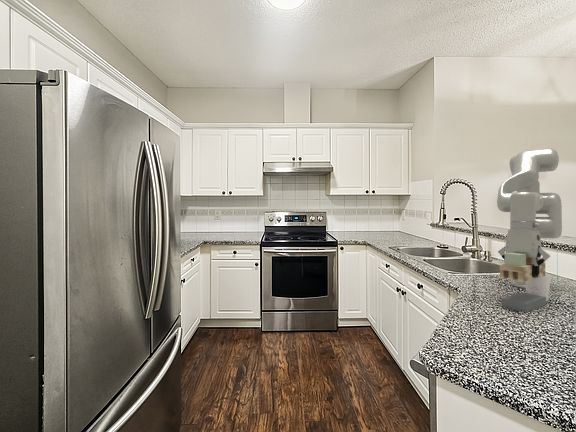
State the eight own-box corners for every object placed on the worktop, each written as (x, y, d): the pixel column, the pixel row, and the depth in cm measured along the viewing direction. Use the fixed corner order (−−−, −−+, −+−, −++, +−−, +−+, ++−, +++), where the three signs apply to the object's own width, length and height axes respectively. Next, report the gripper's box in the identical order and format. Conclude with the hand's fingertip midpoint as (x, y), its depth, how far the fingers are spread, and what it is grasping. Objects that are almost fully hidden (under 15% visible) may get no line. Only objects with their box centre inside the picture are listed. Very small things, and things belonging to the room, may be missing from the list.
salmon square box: (524, 260, 123) (524, 250, 123) (540, 262, 119) (540, 251, 119) (519, 261, 121) (519, 251, 121) (535, 263, 117) (535, 252, 117)
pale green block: (510, 263, 118) (510, 252, 118) (525, 265, 113) (525, 254, 113) (504, 264, 116) (504, 253, 115) (520, 266, 111) (520, 254, 111)
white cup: (546, 297, 128) (547, 272, 128) (553, 303, 121) (553, 276, 121) (522, 295, 131) (522, 271, 131) (527, 300, 124) (527, 275, 124)
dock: (521, 299, 125) (521, 292, 125) (546, 304, 119) (546, 296, 119) (501, 306, 118) (501, 298, 118) (526, 312, 111) (526, 303, 111)
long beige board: (523, 272, 125) (523, 260, 125) (545, 275, 119) (545, 262, 119) (499, 278, 116) (499, 264, 116) (522, 282, 110) (521, 267, 110)
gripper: (556, 226, 112) (556, 278, 112) (502, 225, 127) (502, 270, 127) (547, 227, 108) (546, 280, 108) (491, 225, 123) (491, 272, 123)
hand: (522, 274), depth 117 cm, fingers closed on long beige board, 7 cm apart
